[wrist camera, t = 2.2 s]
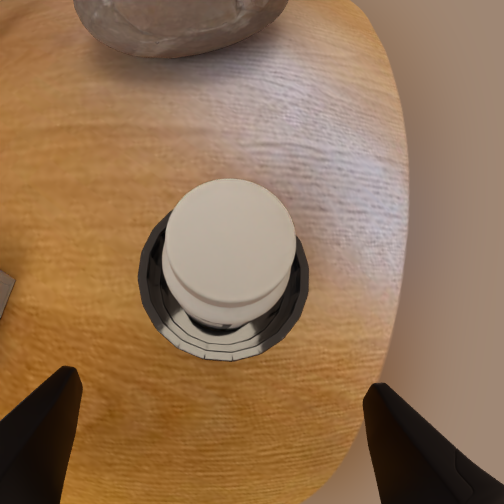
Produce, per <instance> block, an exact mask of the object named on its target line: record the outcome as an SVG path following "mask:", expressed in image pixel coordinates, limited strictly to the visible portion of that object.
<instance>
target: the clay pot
mask: <svg viewBox="0 0 504 504" xmlns="http://www.w3.org/2000/svg"><path fill="white" fill-rule="evenodd" d="M73 1H74V7H75V10H76V12H77V14H78V16H79V18H80V20H81V22H82V24H83V25H84V26H85V27H86V29H87V30H88V31H89V32H90V33H91V34H92V35H93V36H94V37H95V38H96V39H97V40H99V41H100V42H102V43H104V44H105V45H107V46H109V47H111V48H113V49H115V50H117V51H121V52H124V53H126V54H129V55H132V56H136V57H148V58H152V57H160V58H178V57H182V56H191V55H198V54H202V53H206V52H210V51H214V50H217V49H221V48H223V47H226V46H229V45H232V44H235V43H237V42H239V41H242V40H244V39H246V38H247V37H249V36H251V35H253V34H255V33H257V32H259V31H260V30H261V29H263V28H264V27H266V26H267V25H269V24H270V23H272V22H273V21H274V20H275V19H276V18H277V17H278V16H279V15H280V14H281V13H282V11H283V10H284V8H285V6H286V5H287V3H288V0H73Z"/></svg>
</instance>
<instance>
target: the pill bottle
mask: <svg viewBox="0 0 504 504" xmlns="http://www.w3.org/2000/svg"><path fill="white" fill-rule="evenodd" d="M295 251H296V234H295V228H294V224H293V221H292V219H291V216H290V214H289V212H288V211H287V209H286V208H285V206H284V205H283V204H282V202H281V201H280V200H279V199H278V198H277V197H276V196H275V195H274V194H272V193H271V192H270V191H268V190H267V189H266V188H264V187H262V186H260V185H258V184H255V183H253V182H250V181H246V180H242V179H217V180H213V181H209V182H206V183H204V184H202V185H200V186H197V187H196V188H194V189H193V190H191V191H190V192H189V193H187V194H186V195H185V196H184V197H183V198H182V199H181V200H180V201H179V202H178V204H177V205H176V206H175V208H174V210H173V211H172V213H171V215H170V217H169V220H168V223H167V228H166V233H165V243H164V247H163V253H162V268H163V273H164V276H165V279H166V282H167V285H168V287H169V289H170V291H171V293H172V294H173V296H174V297H175V299H176V300H177V301H178V302H179V304H180V305H181V307H182V308H183V310H184V311H185V313H186V314H187V315H188V316H189V317H190V318H191V319H192V320H193V321H195V322H196V323H198V324H199V325H201V326H203V327H205V328H208V329H212V330H217V331H229V330H233V329H237V328H240V327H243V326H245V325H247V324H248V323H250V322H252V321H253V320H255V319H256V318H258V317H260V316H262V315H263V314H265V313H266V312H267V311H269V310H270V309H271V308H272V307H273V306H274V305H275V304H276V303H277V301H278V300H279V299H280V297H281V296H282V294H283V293H284V291H285V289H286V286H287V284H288V281H289V277H290V271H291V266H292V263H293V260H294V256H295Z"/></svg>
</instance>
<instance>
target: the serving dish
mask: <svg viewBox="0 0 504 504" xmlns="http://www.w3.org/2000/svg"><path fill="white" fill-rule="evenodd" d="M14 283H15V279H13V278H12V277H10V276H9V275H7V274H6V273H5V272H3V271H2V270H0V319H1V316H2V313H3V310H4V308H5V305H6V303H7V300H8V297H9V295H10V293H11V290H12V288H13V285H14Z"/></svg>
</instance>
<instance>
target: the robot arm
mask: <svg viewBox="0 0 504 504" xmlns="http://www.w3.org/2000/svg"><path fill="white" fill-rule="evenodd" d="M82 391H83V386H82V382H81V380H80V377H79V375H78V372H77V370H76V368H74V367H70V366H62V367H61V368H59V369H58V370H57V371H56V372H55V373H54V374H52V375H51V376H50V377H49V378H48V379H47V380H46V381H44V382H43V383H42V384H41V385H40V386H39V387H38V388H36V389H35V390H34V391H33V392H32V393H31V394H30V395H29V396H27V397H26V398H25V399H24V400H23V401H22V402H21V403H20V404H19V405H17V406H16V407H15V408H14V409H13V410H12V411H11V412H10V413H9V414H7V415H6V416H5V417H4V418H3V419H2V420H1V421H0V504H60V499H61V494H62V489H63V484H64V480H65V475H66V471H67V466H68V462H69V458H70V454H71V450H72V446H73V442H74V438H75V434H76V428H77V421H78V415H79V409H80V403H81V397H82ZM363 411H364V419H365V426H366V434H367V441H368V447H369V451H370V455H371V460H372V464H373V468H374V472H375V477H376V481H377V486H378V490H379V495H380V500H381V504H504V485H503V484H502V483H500V482H499V481H498V480H496V479H495V478H493V477H492V476H491V475H489V474H488V473H486V472H485V471H484V470H482V469H481V468H480V467H478V466H477V465H476V464H474V463H473V462H472V461H471V460H470V459H468V458H467V457H466V456H465V455H464V454H463V453H462V452H460V451H459V450H458V449H456V447H455V446H454V445H452V444H451V443H450V442H449V441H448V440H447V439H446V438H445V437H444V436H443V435H442V434H441V433H439V432H438V431H437V430H436V429H435V428H434V427H433V426H432V425H431V424H430V423H428V422H427V421H426V420H425V419H424V418H423V417H422V416H421V415H420V414H419V413H418V412H416V411H415V410H414V409H413V408H412V407H411V406H410V405H409V404H408V403H407V402H405V401H404V400H403V399H402V398H401V397H400V396H399V395H398V394H397V393H396V392H395V391H394V390H392V389H391V388H390V387H389V386H388V385H387V384H386V383H374V384H372V385H371V387H370V388H369V390H368V392H367V393H366V395H365V397H364V399H363Z"/></svg>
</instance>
